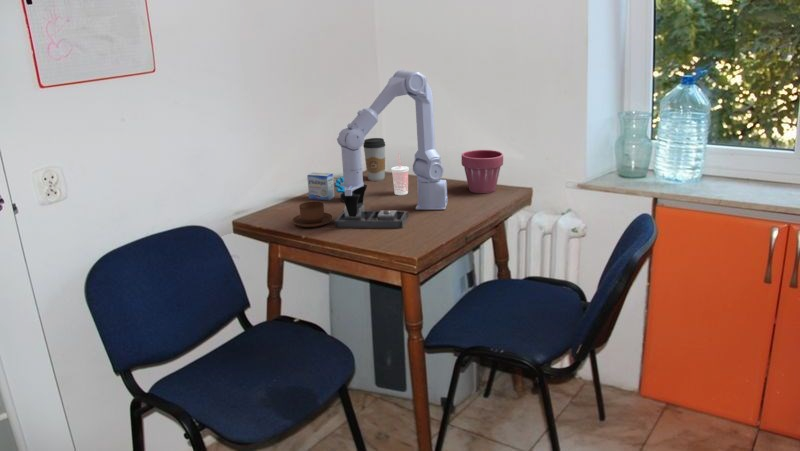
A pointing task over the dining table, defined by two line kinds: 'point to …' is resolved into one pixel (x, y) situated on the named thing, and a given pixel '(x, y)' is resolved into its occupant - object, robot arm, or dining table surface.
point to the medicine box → (320, 186)
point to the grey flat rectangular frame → (371, 221)
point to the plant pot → (482, 169)
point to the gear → (340, 188)
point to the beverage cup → (400, 179)
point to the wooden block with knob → (387, 215)
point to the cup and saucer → (312, 215)
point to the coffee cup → (375, 158)
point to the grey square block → (359, 215)
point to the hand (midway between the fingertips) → (355, 212)
